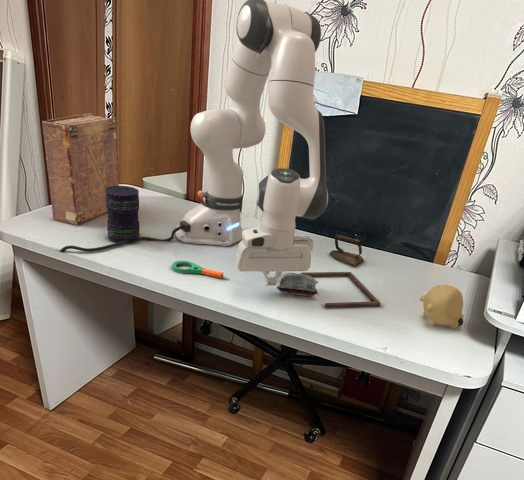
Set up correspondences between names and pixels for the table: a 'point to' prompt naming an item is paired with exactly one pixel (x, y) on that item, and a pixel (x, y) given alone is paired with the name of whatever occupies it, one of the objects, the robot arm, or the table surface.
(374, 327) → the table surface
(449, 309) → the toy pig
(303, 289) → the packaged food
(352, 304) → the bay
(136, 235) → the dark blue cylinder
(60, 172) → the book
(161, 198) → the table surface
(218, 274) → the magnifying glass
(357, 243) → the clothes iron
